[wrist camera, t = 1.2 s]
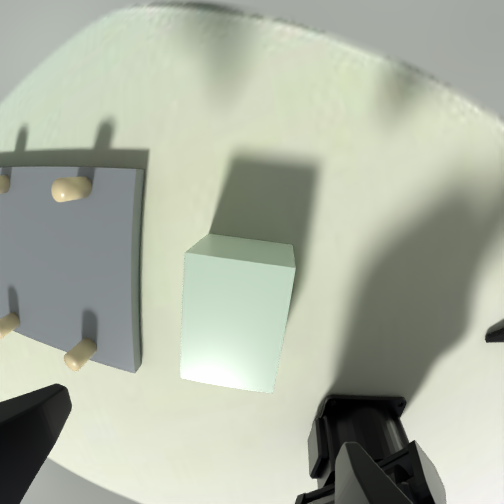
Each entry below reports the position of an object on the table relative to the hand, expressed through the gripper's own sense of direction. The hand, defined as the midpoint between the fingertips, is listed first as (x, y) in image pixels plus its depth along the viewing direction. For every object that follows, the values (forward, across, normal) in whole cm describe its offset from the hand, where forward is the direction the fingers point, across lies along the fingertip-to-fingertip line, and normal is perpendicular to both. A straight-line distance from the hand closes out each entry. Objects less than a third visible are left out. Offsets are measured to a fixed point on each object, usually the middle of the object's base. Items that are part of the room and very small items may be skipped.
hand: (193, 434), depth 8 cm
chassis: (+12, +15, 0) cm, 19 cm away
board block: (+12, 0, 0) cm, 12 cm away
